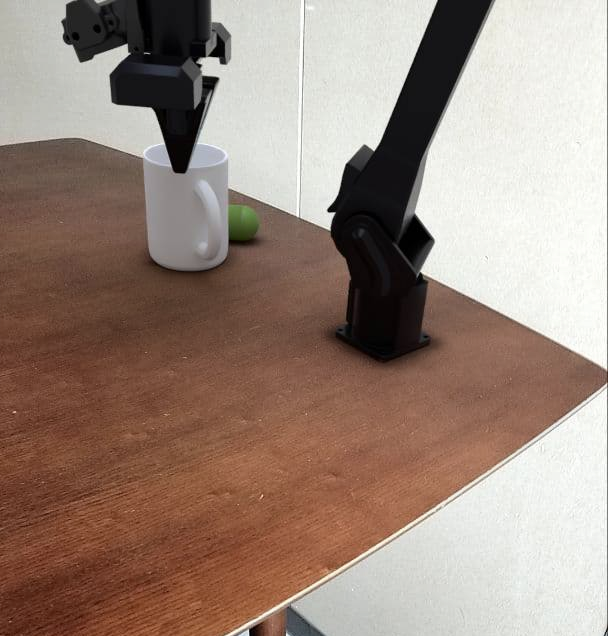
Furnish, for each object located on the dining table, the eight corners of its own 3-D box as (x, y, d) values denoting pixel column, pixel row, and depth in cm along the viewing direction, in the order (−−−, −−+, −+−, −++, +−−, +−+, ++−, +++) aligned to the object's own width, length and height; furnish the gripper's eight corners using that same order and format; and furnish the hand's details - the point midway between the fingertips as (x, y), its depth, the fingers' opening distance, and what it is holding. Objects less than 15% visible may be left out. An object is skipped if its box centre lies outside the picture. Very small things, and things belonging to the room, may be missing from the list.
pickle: (260, 234, 97) (261, 202, 95) (257, 247, 94) (257, 213, 92) (175, 228, 97) (174, 195, 95) (169, 240, 94) (167, 206, 92)
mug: (255, 280, 87) (257, 175, 81) (177, 292, 84) (173, 184, 78) (210, 237, 95) (209, 138, 89) (138, 247, 92) (131, 145, 86)
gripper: (100, -65, 72) (116, 134, 82) (25, -36, 58) (55, 200, 68) (232, -54, 72) (232, 144, 82) (189, -23, 58) (195, 213, 68)
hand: (180, 172), depth 75 cm, fingers closed
